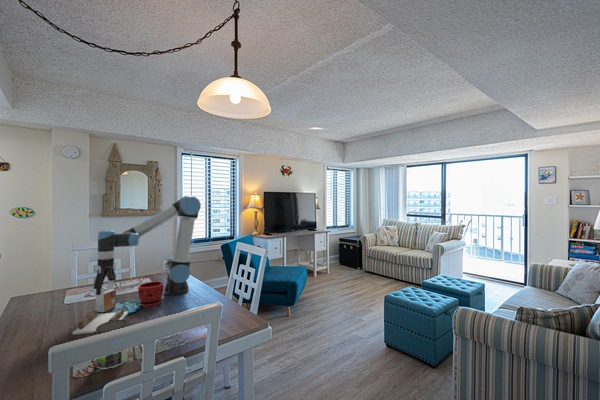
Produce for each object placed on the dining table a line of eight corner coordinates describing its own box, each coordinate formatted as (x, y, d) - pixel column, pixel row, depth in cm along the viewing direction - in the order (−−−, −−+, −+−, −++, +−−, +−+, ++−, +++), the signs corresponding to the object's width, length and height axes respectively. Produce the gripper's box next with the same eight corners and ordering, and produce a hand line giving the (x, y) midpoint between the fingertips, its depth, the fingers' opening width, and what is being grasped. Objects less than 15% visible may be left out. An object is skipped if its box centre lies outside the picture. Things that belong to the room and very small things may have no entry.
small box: (103, 313, 149) (103, 294, 149) (95, 312, 151) (95, 293, 150) (116, 307, 157) (116, 289, 157) (108, 306, 158) (108, 288, 158)
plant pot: (168, 301, 167) (168, 281, 167) (150, 309, 154) (150, 288, 154) (151, 298, 171) (151, 279, 171) (132, 306, 159) (132, 286, 159)
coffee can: (108, 372, 99) (108, 333, 99) (89, 366, 103) (89, 328, 103) (134, 357, 109) (134, 321, 109) (116, 351, 112) (116, 317, 112)
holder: (94, 316, 146) (94, 308, 146) (128, 313, 149) (128, 306, 149) (72, 334, 126) (72, 325, 126) (111, 331, 130) (111, 322, 130)
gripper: (108, 253, 165) (107, 289, 165) (86, 263, 141) (85, 304, 141) (122, 253, 167) (121, 288, 167) (102, 263, 142) (101, 303, 142)
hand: (105, 296), depth 154 cm, fingers open, 13 cm apart
